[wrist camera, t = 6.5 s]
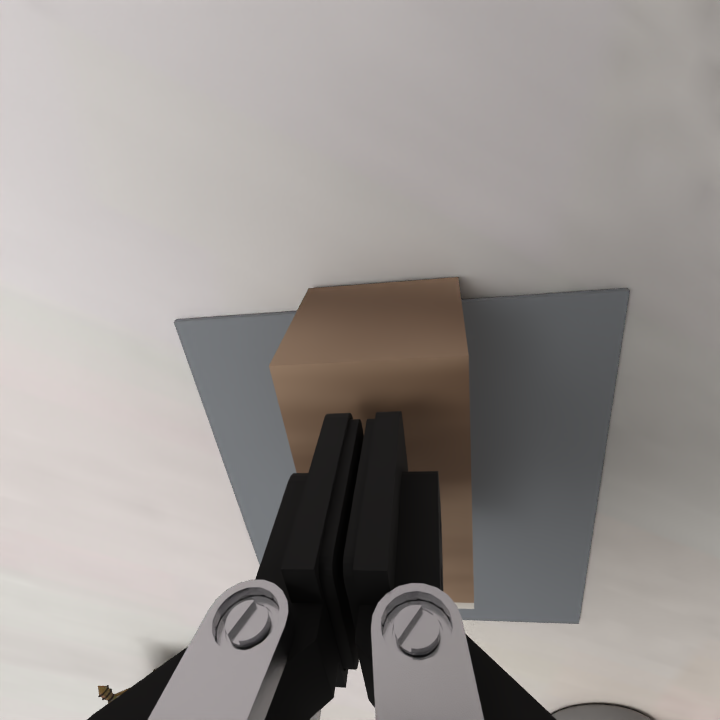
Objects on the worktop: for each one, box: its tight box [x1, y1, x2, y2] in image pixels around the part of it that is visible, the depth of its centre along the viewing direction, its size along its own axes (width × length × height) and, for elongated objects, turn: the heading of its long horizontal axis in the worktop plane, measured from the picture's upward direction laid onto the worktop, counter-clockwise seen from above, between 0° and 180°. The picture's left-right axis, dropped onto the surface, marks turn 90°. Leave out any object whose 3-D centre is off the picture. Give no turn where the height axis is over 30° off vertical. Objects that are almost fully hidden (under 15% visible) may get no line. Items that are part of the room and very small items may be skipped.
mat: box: [174, 288, 630, 624], centre depth 20 cm, size 16×14×1 cm
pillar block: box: [269, 277, 474, 609], centre depth 15 cm, size 4×4×9 cm
